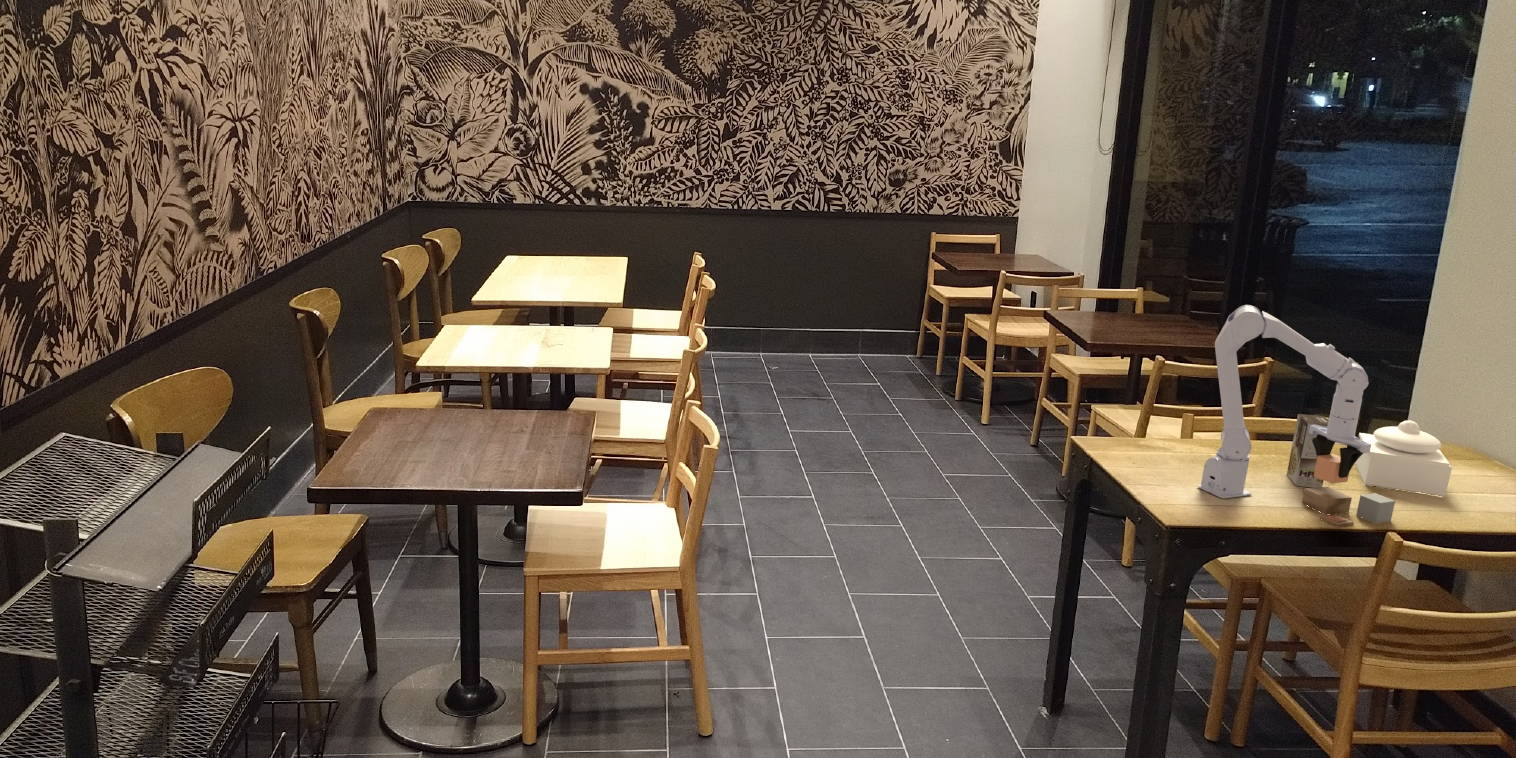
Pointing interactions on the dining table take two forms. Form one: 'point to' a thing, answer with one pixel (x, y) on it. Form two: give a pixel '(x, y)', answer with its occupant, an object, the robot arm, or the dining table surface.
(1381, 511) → the slate cube
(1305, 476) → the coffee box
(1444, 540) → the dining table surface
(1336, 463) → the terracotta cube
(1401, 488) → the butter dish
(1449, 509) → the dining table surface
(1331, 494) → the walnut slab
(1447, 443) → the dining table surface
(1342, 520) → the tile
